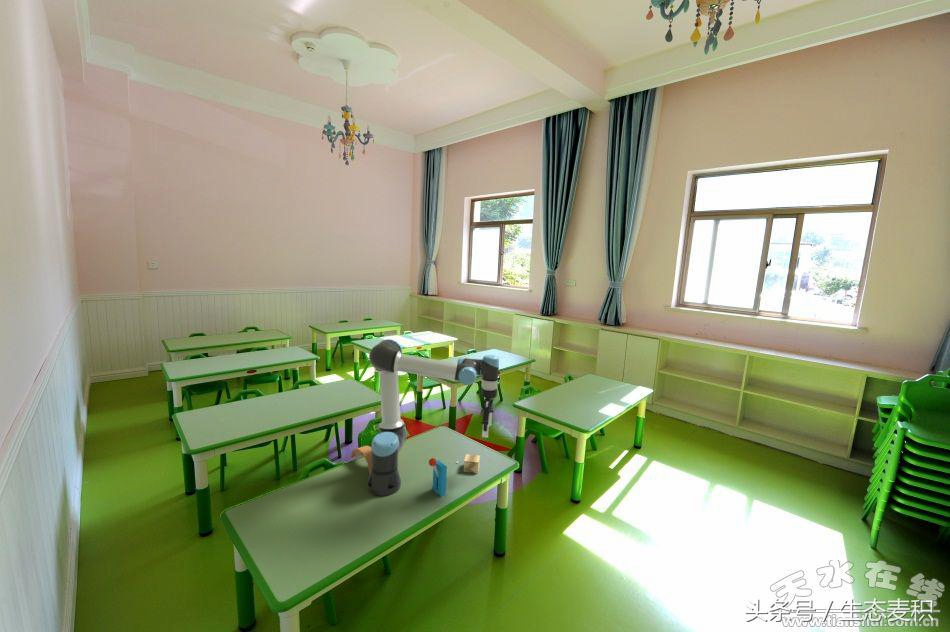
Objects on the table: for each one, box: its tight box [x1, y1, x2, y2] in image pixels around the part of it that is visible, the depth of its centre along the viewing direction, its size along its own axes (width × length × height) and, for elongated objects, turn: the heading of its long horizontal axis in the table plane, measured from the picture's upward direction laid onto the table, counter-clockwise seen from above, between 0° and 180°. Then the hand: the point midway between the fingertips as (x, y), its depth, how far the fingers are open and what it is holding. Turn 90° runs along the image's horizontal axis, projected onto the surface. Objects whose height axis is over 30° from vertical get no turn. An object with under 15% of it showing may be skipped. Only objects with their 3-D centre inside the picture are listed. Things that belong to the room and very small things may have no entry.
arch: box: [350, 445, 372, 474], centre depth 193 cm, size 6×20×10 cm, turn 44°
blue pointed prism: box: [428, 457, 448, 497], centre depth 171 cm, size 7×7×18 cm
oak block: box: [463, 453, 481, 474], centre depth 194 cm, size 7×7×7 cm
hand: (486, 431), depth 185 cm, fingers open, 13 cm apart
